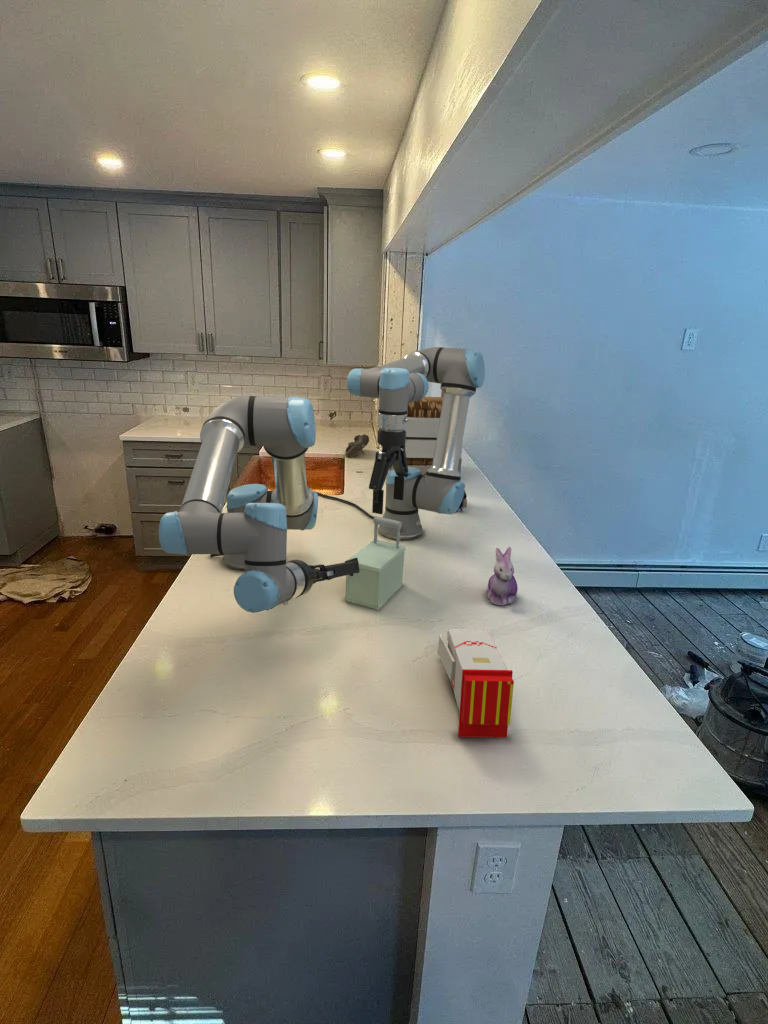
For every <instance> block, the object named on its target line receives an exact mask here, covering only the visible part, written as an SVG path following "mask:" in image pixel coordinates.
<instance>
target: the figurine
mask: <svg viewBox="0 0 768 1024" xmlns="http://www.w3.org/2000/svg"><path fill="white" fill-rule="evenodd" d="M511 557H512V547H511V546H509V547H507V548H506V550H505V552H504V553H503V552H502V551H501V549H500V548H499V547H496V548H495V560H496V561H495V565H494V567H493V572H494V573H493V574H492V575H491V576H490V577H489V578H488V581H487V582H488V583H487V592H486V596H487V598H488V600H489V601H490V603H491V604H493V605H496V606H506V605H508V604H512V603H513V602H514V601H515V600H516V596H517V593H518V583H517V579H516V578H515V575H514V573H515V567H514V565H513V563H512V560H511Z"/></svg>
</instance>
